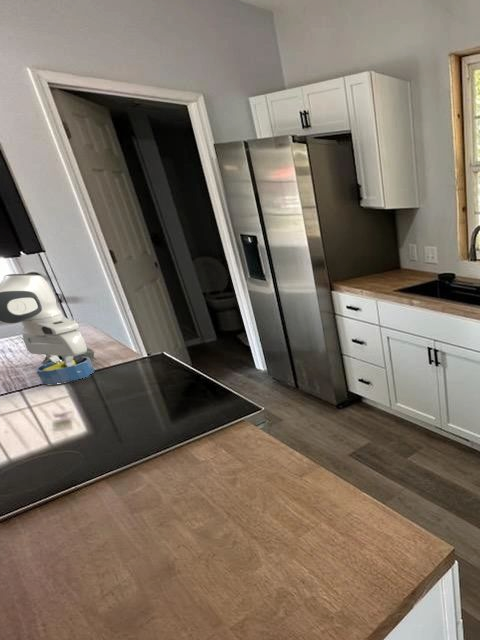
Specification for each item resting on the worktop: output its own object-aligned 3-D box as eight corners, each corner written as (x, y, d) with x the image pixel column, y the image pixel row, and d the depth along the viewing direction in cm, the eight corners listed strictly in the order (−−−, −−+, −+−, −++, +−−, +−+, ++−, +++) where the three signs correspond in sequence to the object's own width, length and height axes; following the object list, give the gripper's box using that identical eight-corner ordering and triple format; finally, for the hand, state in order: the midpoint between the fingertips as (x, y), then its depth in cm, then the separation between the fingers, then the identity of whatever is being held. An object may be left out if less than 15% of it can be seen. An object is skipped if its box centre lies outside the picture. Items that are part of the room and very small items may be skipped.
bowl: (60, 387, 126) (53, 372, 124) (31, 384, 128) (24, 370, 127) (105, 371, 137) (99, 357, 135) (77, 369, 140) (71, 355, 138)
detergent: (99, 365, 142) (95, 348, 159) (89, 346, 139) (85, 330, 156) (46, 380, 134) (47, 360, 150) (34, 360, 131) (36, 342, 147)
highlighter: (54, 378, 128) (49, 370, 127) (47, 378, 129) (41, 369, 127) (87, 364, 136) (82, 356, 134) (80, 364, 136) (75, 355, 135)
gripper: (8, 327, 126) (28, 369, 131) (57, 329, 121) (76, 372, 126) (34, 321, 132) (53, 361, 137) (82, 323, 127) (99, 364, 132)
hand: (64, 366), depth 131 cm, fingers closed on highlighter, 3 cm apart
